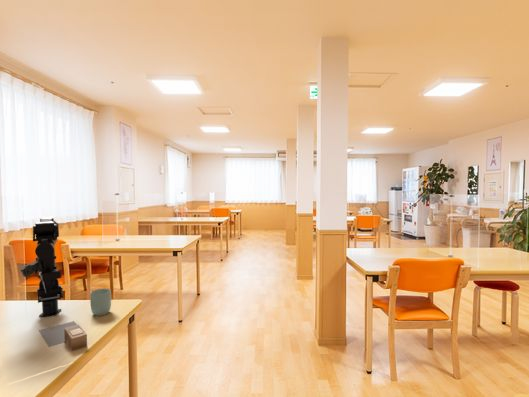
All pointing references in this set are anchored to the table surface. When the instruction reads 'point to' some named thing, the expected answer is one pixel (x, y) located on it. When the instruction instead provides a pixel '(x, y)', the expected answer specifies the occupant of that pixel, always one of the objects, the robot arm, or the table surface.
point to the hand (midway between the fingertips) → (47, 293)
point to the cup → (100, 301)
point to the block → (75, 337)
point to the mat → (55, 333)
